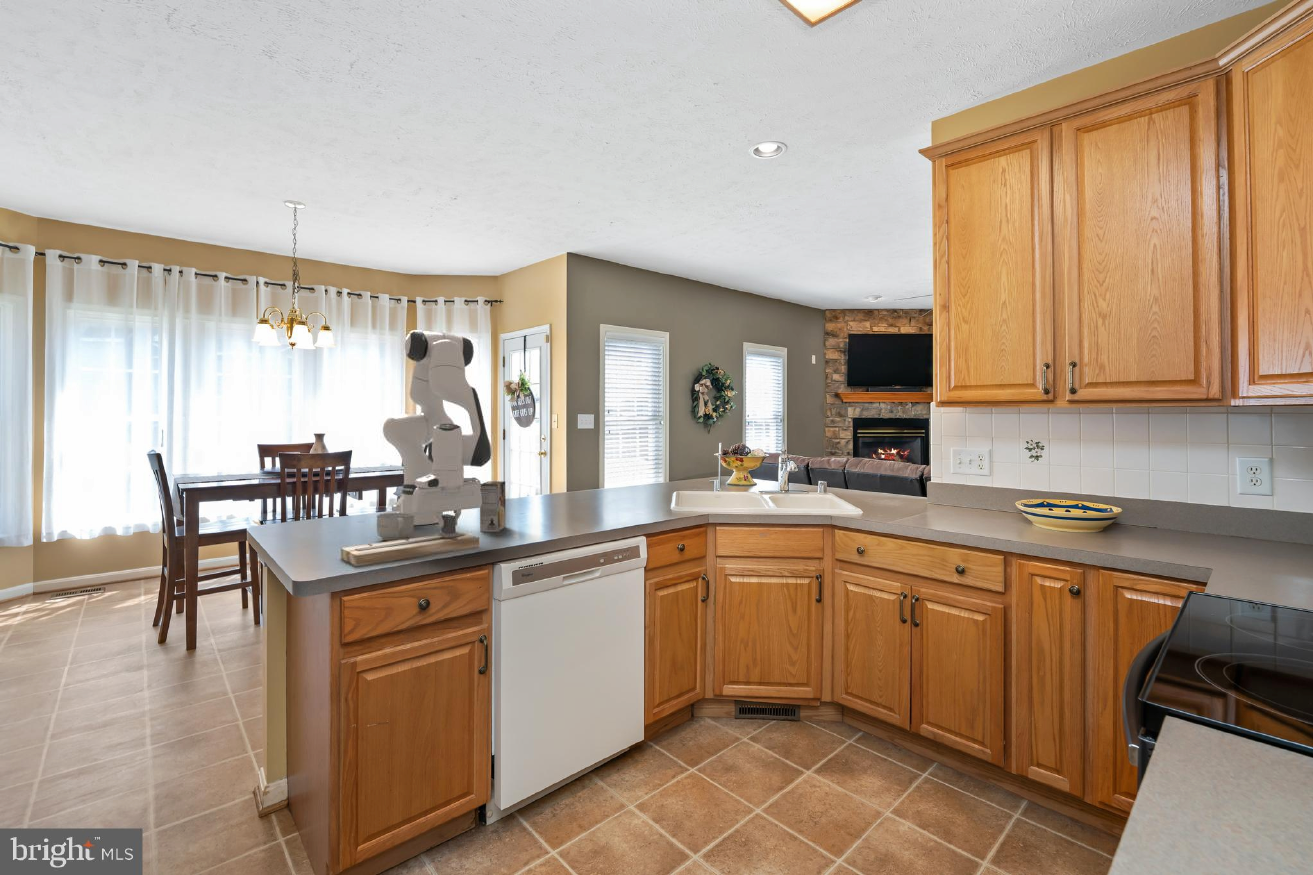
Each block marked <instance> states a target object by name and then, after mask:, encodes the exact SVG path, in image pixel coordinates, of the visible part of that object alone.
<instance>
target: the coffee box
mask: <svg viewBox="0 0 1313 875" xmlns="http://www.w3.org/2000/svg"><path fill="white" fill-rule="evenodd" d="M480 491H481V497H482V505H481V506H480V508H479V531H480V532H483V533H490V532H491V533H498V532H500V531H502V530H504V528H506V523H507V522H506V518H507V516H506V509H507V508H506V481H503V480H501V481H493V480H491V481H486V482H483V483H481V489H480Z"/></svg>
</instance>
